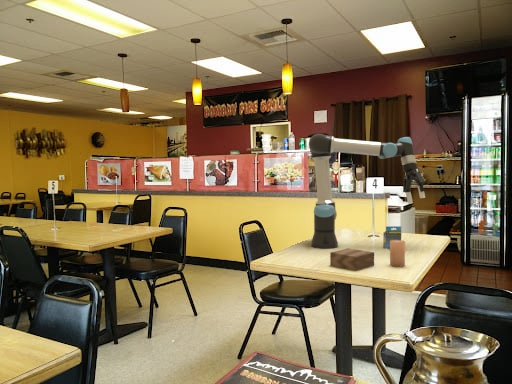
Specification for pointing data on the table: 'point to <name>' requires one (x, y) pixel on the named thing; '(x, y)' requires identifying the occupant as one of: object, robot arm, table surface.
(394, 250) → the terracotta canister
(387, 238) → the label tape box
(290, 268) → the table surface
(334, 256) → the walnut block
